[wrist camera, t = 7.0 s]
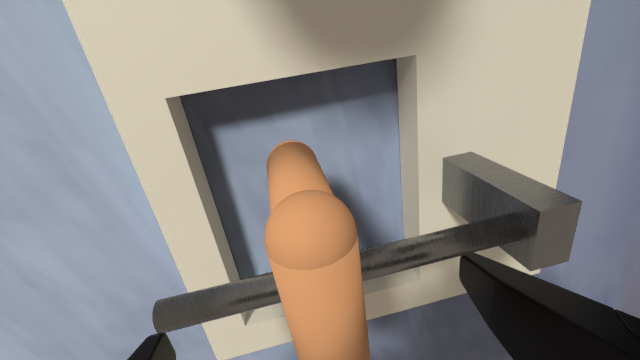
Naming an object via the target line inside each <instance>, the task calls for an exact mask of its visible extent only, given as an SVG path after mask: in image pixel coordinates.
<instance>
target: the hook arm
mask: <svg viewBox="0 0 640 360" xmlns="http://www.w3.org/2000/svg"><path fill="white" fill-rule="evenodd" d="M442 202H443V203H444V204H446V205H447V206H448V207H449V208H451V209H452V210H453V211H455V212H456V213H457V214H458V215H460V216H461V217H462V218H463V219H465V220H466V221H467V222H468V224H464V225H460V226H456V227H452V228H448V229H444V230H440V231H436V232H431V233H427V234H423V235H419V236H415V237H411V238H407V239H403V240H399V241H395V242H391V243H387V244H383V245H379V246H375V247H371V248H367V249H363V250H359V252H360V262H361V272H362V282H363V281H366V280H370V279H374V278H378V277H382V276H386V275H390V274H393V273H397V272H401V271H405V270H409V269H413V268H416V267H420V266H424V265H428V264H432V263H436V262H440V261H443V260H447V259H451V258H455V257H459V256H462V255H464V254H468V253H474V252H478V251H482V250H486V249H490V248H493V247H497V246H499V247H500V248H501V249H502V250H504V251H505V252H506V253H508V254H509V255H510V256H511V257H513V258H514V259H515V260H516V261H518V262H519V263H520V264H521V265H523V266H524V267H525V268H526V269H528V270H529V271H530V272H531V271H534V270H538V269H542V268H545V267H549V266H552V265H556V264H560V263H563V262H567V261H569V257H570V252H571V248H572V244H573V239H574V235H575V231H576V226H577V222H578V218H579V213H580V209H581V205H582V201H580V200H578V199H576V198H574V197H572V196H569V195H567V194H565V193H563V192H560V191H558V190H556V189H554V188H552V187H549V186H547V185H545V184H543V183H540V182H538V181H536V180H534V179H532V178H529V177H527V176H525V175H523V174H520V173H518V172H516V171H514V170H511V169H509V168H507V167H505V166H503V165H500V164H498V163H496V162H494V161H491V160H489V159H487V158H485V157H483V156H480V155H478V154H476V153H474V152H467V153H462V154H457V155H453V156H448V157H444V158H443V171H442ZM278 303H282V302H281V299H280V296H279V292H278V289H277V285H276V282H275V279H274V275H273V272H270V273H266V274H262V275H258V276H253V277H249V278H245V279H241V280H237V281H233V282H229V283H225V284H221V285H217V286H213V287H209V288H205V289H201V290H197V291H193V292H189V293H185V294H181V295H177V296H173V297H169V298H165V299H160V300H158V301H156V303H155V305H154V308H153V324H154V327H155V330H156V331H157V332H158V333H166V332H170V331H174V330H178V329H182V328H186V327H189V326H193V325H197V324H201V323H205V322H209V321H212V320H216V319H220V318H224V317H228V316H232V315H236V314H239V313H243V312H247V311H251V310H255V309H259V308H263V307H266V306H270V305H274V304H278Z"/></svg>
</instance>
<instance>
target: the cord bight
mask: <svg viewBox="0 0 640 360" xmlns="http://www.w3.org/2000/svg"><path fill="white" fill-rule="evenodd" d="M267 177H268V188H269V199H270V210H271V214H270V216H269V218H268V221H267V224H266V227H265V238H264V240H265V246H266V252H267V255H268V258H269V262H270V265H271V269H272V272H273V275H274V279H275V282H276V285H277V289H278V292H279V296H280V299H281V302H282V306H283V309H284V312H285V316H286V319H287V323H288V326H289V329H290V333H291V336H292V339H293V343H294V346H295V350H296V353H297V356H298V360H370V351H369V341H368V331H367V321H366V311H365V302H364V292H363V282H362V272H361V262H360V252H359V243H358V233H357V227H356V223H355V220H354V218H353V216H352V214H351V212H350V210H349V209H348V208H347V206H346V205H345V204H344V203H343V202H342V201H341V200H339V199H338V198H336V197H335V196H334V195H333V192H332V190H331V188H330V186H329V184H328V182H327V180H326V178H325V175H324V173H323V171H322V169H321V167H320V165H319V163H318V161H317V158H316V156H315V154H314V153H313V151H312V150H311V149H310V148H309V147H308V146H307V145H306V144H304V143H302V142H298V141H285V142H282V143H280V144H278V145H277V146H276V147H275V148H274V149H273V150H272V151H271V152H270V154H269V156H268V160H267Z"/></svg>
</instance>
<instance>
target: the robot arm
mask: <svg viewBox="0 0 640 360" xmlns="http://www.w3.org/2000/svg"><path fill="white" fill-rule="evenodd" d="M459 278H460V281H461V283H462V285H463V287H464V288H465V290H466V292H467V293H468V295H469V296H470V298H471V300H472V301H473V303H474V304H475V306H476V308H477V309H478V311H479V313H480V314H481V316H482V317H483V319H484V321H485V322H486V324H487V325H488V327H489V328H490V329H491V331H492V332H493V334H494V335H495V336H496V338H497V339H498V340H499V342H500V343H501V344H502V345H503V347H504V348H505V349H506V351H507V352H508V353H509V355H510V356H511V357H512V359H513V360H640V319H639V318H637V317H634V316H632V315H629V314H627V313H624V312H622V311H619V310H614V309H613V308H612V307H609V306H607V305H604V304H602V303H599V302H597V301H594V300H592V299H589V298H587V297H584V296H582V295H579V294H577V293H574V292H572V291H569V290H567V289H564V288H562V287H559V286H557V285H554V284H552V283H549V282H547V281H544V280H542V279H539V278H537V277H534V276H532V275H529V274H527V273H524V272H522V271H519V270H517V269H514V268H512V267H509V266H507V265H504V264H502V263H499V262H497V261H494V260H492V259H489V258H487V257H484V256H482V255H479V254H477V253H468V254H464V255H462V256H461V257H460V264H459ZM127 360H176V353H175V350H174V348H173V346H172V344H171V342H170V340H169V338H168V336H167V335H166V334H165V333H158V334H154V335H151V336H149V337H147V338H146V339H145V340H144V341H143V343H142V344H141V345H140V346H139V347H138V348H137V349H136V350H135V352H134V353H133V354H132V355H131V356H130V357H129V358H128V359H127Z"/></svg>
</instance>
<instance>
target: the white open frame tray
mask: <svg viewBox="0 0 640 360" xmlns="http://www.w3.org/2000/svg"><path fill="white" fill-rule="evenodd" d="M62 1H63V3H64V5H65V8H66V10H67V12H68V15H69V17H70V19H71V22H72V24H73V26H74V29H75V31H76V33H77V35H78V38H79V40H80V42H81V45H82V47H83V49H84V52H85V54H86V56H87V59H88V61H89V63H90V66H91V68H92V70H93V73H94V75H95V77H96V80H97V82H98V84H99V87H100V89H101V91H102V93H103V96H104V98H105V100H106V103H107V105H108V107H109V110H110V112H111V114H112V117H113V119H114V121H115V124H116V126H117V128H118V131H119V133H120V135H121V138H122V140H123V142H124V145H125V147H126V149H127V151H128V154H129V156H130V158H131V161H132V163H133V165H134V168H135V170H136V172H137V175H138V177H139V179H140V182H141V184H142V186H143V189H144V191H145V193H146V196H147V198H148V200H149V203H150V205H151V207H152V209H153V212H154V214H155V216H156V219H157V221H158V223H159V226H160V228H161V230H162V233H163V235H164V237H165V240H166V242H167V244H168V247H169V249H170V251H171V254H172V256H173V258H174V261H175V263H176V265H177V267H178V270H179V272H180V274H181V277H182V279H183V281H184V284H185V286H186V288H187V291H188V293H189V292H193V291H197V290H201V289H205V288H209V287H213V286H217V285H221V284H225V283H229V282H233V281H237V280H240V278H239V275H238V272H237V269H236V266H235V262H234V259H233V256H232V253H231V250H230V247H229V244H228V241H227V238H226V235H225V232H224V229H223V226H222V223H221V220H220V217H219V214H218V211H217V208H216V205H215V202H214V199H213V196H212V193H211V190H210V187H209V184H208V181H207V178H206V175H205V172H204V169H203V166H202V163H201V160H200V157H199V154H198V151H197V148H196V145H195V142H194V139H193V136H192V133H191V130H190V127H189V124H188V121H187V118H186V114H185V111H184V108H183V105H182V102H181V99H180V96H182V95H187V94H193V93H199V92H205V91H210V90H216V89H222V88H227V87H233V86H239V85H245V84H250V83H256V82H262V81H268V80H273V79H279V78H285V77H291V76H296V75H302V74H308V73H314V72H319V71H325V70H331V69H337V68H342V67H348V66H354V65H360V64H365V63H371V62H377V61H383V60H388V59H394V58H396V64H397V87H398V110H399V133H400V157H401V180H402V203H403V226H404V239H407V238H411V237H415V236H419V235H423V234H427V233H431V232H436V231H440V230H444V229H448V228H452V227H456V226H460V225H464V224H468V222H467V221H466V220H465V219H463V218H462V217H461V216H460V215H458V214H457V213H456V212H455V211H453V210H452V209H451V208H449V207H448V206H447V205H446V204H444V203H443V202H442V171H443V158H444V157H448V156H453V155H457V154H462V153H467V152H474V153H476V154H478V155H480V156H483V157H485V158H487V159H489V160H491V161H494V162H496V163H498V164H500V165H503V166H505V167H507V168H509V169H511V170H514V171H516V172H518V173H520V174H523V175H525V176H527V177H529V178H532V179H534V180H536V181H538V182H540V183H543V184H545V185H547V186H549V187H552V188H554V189H556V184H557V179H558V174H559V168H560V163H561V158H562V152H563V147H564V142H565V136H566V131H567V126H568V120H569V115H570V110H571V104H572V99H573V94H574V88H575V83H576V78H577V72H578V67H579V62H580V56H581V51H582V46H583V40H584V35H585V30H586V24H587V19H588V14H589V8H590V3H591V0H62ZM474 253H477V254H479V255H482V256H484V257H487V258H489V259H492V260H494V261H497V262H499V263H502V264H504V265H507V266H509V267H512V268H514V269H517V270H519V271H522V272H524V273H527V274H529V275H534V274H537V273H540V269H538V270H534V271H531V272H530V271H529V270H528V269H526V268H525V267H524V266H523V265H521V264H520V263H519V262H518V261H516V260H515V259H514V258H513V257H511V256H510V255H509V254H508V253H506V252H505V251H504V250H502V249H501V248H500V247H499V246H497V247H493V248H490V249H486V250H482V251H478V252H474ZM460 257H461V256H459V257H455V258H451V259H447V260H443V261H440V262H436V263H432V264H428V265H424V266H420V267H416V268H413V269H409V270H405V271H401V272H397V273H393V274H390V275H386V276H382V277H378V278H374V279H370V280H366V281H363V292H364V302H365V311H366V321H367V320H371V319H374V318H378V317H381V316H385V315H389V314H392V313H396V312H400V311H403V310H407V309H410V308H414V307H418V306H421V305H425V304H429V303H432V302H436V301H439V300H443V299H447V298H450V297H454V296H458V295H461V294H465V293H467V292H466V290H465V288H464V287H463V285H462V283H461V281H460V278H459V264H460ZM202 326H203V328H204V330H205V332H206V335H207V337H208V339H209V342H210V344H211V346H212V349H213V351H214V353H215V356H216V358H217V360H225V359H229V358H233V357H236V356H240V355H244V354H247V353H251V352H254V351H258V350H262V349H265V348H269V347H273V346H276V345H280V344H283V343H287V342H291V341H293V339H292V336H291V333H290V329H289V326H288V323H287V319H286V316H285V312H284V309H283V306H282V303H278V304H274V305H270V306H266V307H263V308H259V309H255V310H251V311H247V312H243V313H239V314H236V315H232V316H228V317H224V318H220V319H216V320H212V321H209V322H205V323H202Z"/></svg>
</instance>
